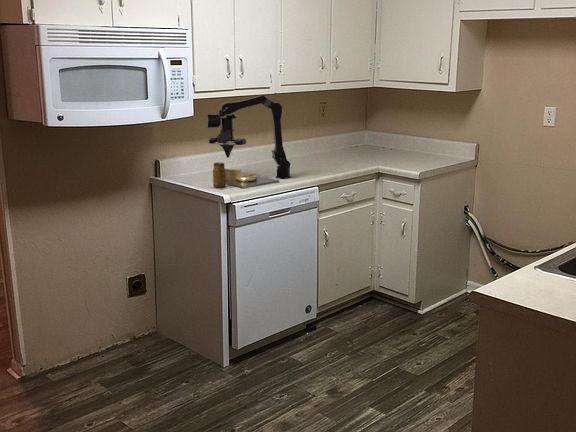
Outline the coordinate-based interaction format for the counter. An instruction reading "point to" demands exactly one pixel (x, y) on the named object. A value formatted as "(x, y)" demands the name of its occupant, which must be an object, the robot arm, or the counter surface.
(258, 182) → the base plate
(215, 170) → the condiment
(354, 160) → the counter surface
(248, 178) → the brass lever handle
